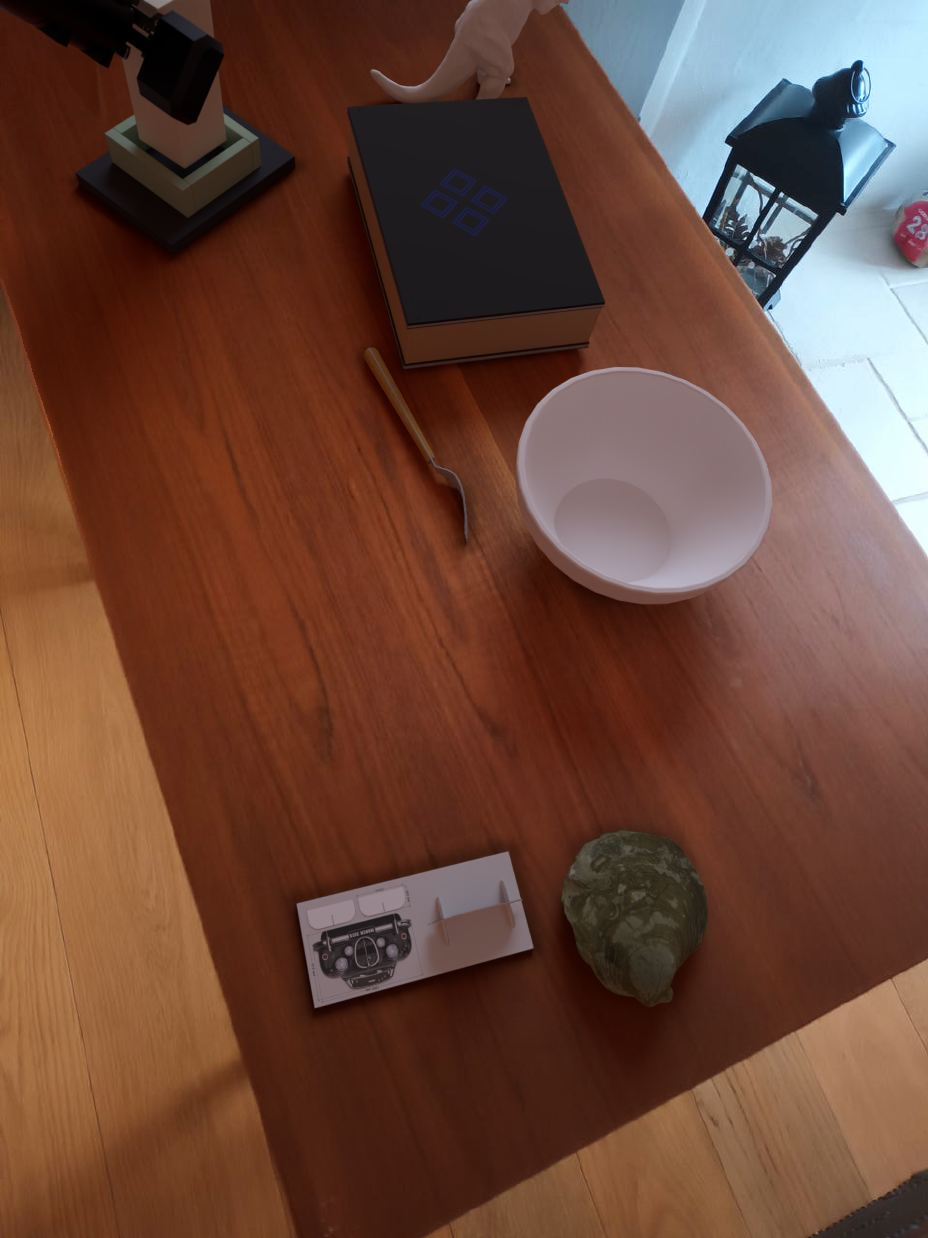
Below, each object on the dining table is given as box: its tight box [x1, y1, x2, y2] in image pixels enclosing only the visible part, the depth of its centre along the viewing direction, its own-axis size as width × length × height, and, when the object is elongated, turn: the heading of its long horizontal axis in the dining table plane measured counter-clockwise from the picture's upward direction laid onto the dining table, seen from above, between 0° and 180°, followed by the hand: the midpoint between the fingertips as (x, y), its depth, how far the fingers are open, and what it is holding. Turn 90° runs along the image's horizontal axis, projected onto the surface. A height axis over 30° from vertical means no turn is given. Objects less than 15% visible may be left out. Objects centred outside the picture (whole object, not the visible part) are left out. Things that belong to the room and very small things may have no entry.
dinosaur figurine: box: [369, 0, 570, 104], centre depth 84 cm, size 20×10×15 cm, turn 108°
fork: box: [363, 347, 468, 542], centre depth 73 cm, size 2×2×20 cm
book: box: [346, 96, 606, 371], centre depth 79 cm, size 17×25×7 cm
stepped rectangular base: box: [75, 104, 296, 256], centre depth 80 cm, size 16×12×4 cm
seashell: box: [560, 829, 709, 1008], centre depth 60 cm, size 10×7×10 cm
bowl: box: [514, 366, 773, 605], centre depth 69 cm, size 20×20×10 cm
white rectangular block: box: [121, 0, 226, 168], centre depth 72 cm, size 5×5×14 cm
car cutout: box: [296, 850, 535, 1009], centre depth 57 cm, size 15×7×4 cm, turn 104°
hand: (181, 60), depth 73 cm, fingers closed on white rectangular block, 5 cm apart
